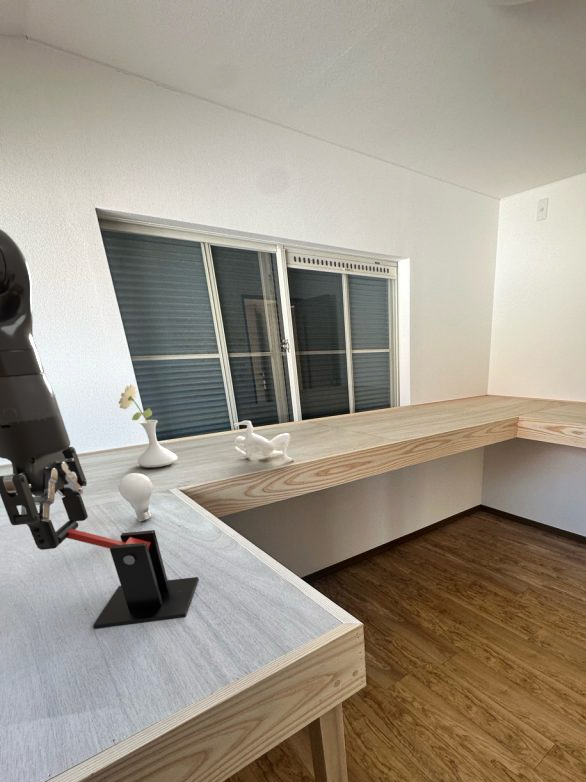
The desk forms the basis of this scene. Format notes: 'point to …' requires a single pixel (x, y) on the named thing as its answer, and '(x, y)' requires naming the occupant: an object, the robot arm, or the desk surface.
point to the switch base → (144, 586)
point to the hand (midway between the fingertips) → (65, 533)
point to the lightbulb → (137, 493)
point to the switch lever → (90, 536)
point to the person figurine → (261, 443)
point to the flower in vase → (154, 452)
